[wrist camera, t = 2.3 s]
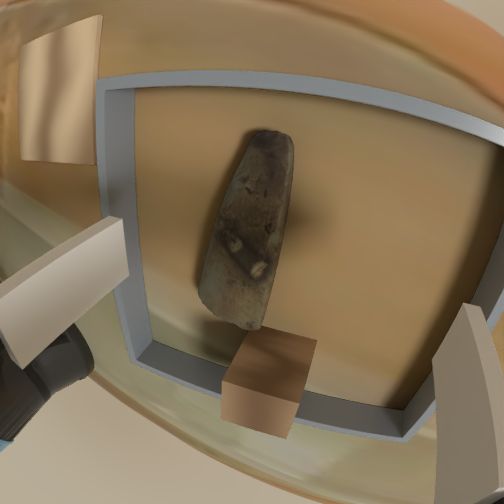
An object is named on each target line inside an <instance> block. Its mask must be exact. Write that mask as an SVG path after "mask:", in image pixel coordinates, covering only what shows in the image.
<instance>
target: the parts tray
mask: <svg viewBox="0 0 504 504" xmlns="http://www.w3.org/2000/svg"><path fill="white" fill-rule="evenodd" d="M178 86H207V87H236V88H252V89H265V90H275V91H285V92H294V93H302V94H309V95H316V96H323V97H329V98H335V99H341V100H346V101H351V102H357V103H361V104H366V105H371V106H375V107H380V108H384V109H388V110H393V111H397V112H400V113H404V114H408V115H412V116H415V117H419V118H422V119H426V120H429V121H433V122H436V123H439V124H442V125H445V126H448V127H451V128H454V129H457V130H460V131H463V132H466V133H469V134H471V135H474V136H477V137H479V138H482V139H485V140H487V141H490V142H492V143H495V144H497V145H499V146H502V147H504V129H503V128H500V127H498V126H496V125H493V124H491V123H489V122H486V121H484V120H481V119H479V118H476V117H473V116H471V115H468V114H465V113H462V112H460V111H457V110H454V109H451V108H448V107H445V106H442V105H439V104H436V103H432V102H429V101H426V100H422V99H419V98H415V97H411V96H408V95H404V94H400V93H396V92H392V91H388V90H384V89H379V88H375V87H370V86H365V85H360V84H355V83H349V82H344V81H338V80H332V79H325V78H318V77H311V76H302V75H293V74H283V73H272V72H257V71H234V70H190V71H167V72H153V73H141V74H131V75H122V76H115V77H107V78H100V79H96V150H97V168H98V182H99V193H100V204H101V213H102V220H103V219H104V218H106V217H108V216H113V217H117V218H121V219H122V220H123V230H124V239H125V247H126V255H127V262H128V269H129V276H128V277H127V278H126V279H125V280H123V281H122V282H121V283H120V284H118V285H117V286H116V287H115V288H114V289H113V290H114V295H115V300H116V304H117V309H118V314H119V318H120V322H121V326H122V331H123V335H124V339H125V343H126V346H127V350H128V354H129V358H130V361H131V363H133V364H135V365H137V366H139V367H142V368H144V369H146V370H148V371H150V372H153V373H155V374H157V375H159V376H162V377H164V378H166V379H169V380H171V381H174V382H176V383H178V384H181V385H183V386H186V387H188V388H191V389H193V390H196V391H199V392H201V393H204V394H207V395H209V396H212V397H215V398H218V399H220V400H221V396H222V379H223V377H224V375H225V374H226V372H227V370H228V368H226V367H223V366H220V365H217V364H214V363H211V362H208V361H206V360H203V359H200V358H197V357H194V356H192V355H189V354H186V353H184V352H181V351H178V350H176V349H173V348H171V347H168V346H166V345H163V344H161V343H158V342H156V341H153V338H152V333H151V327H150V321H149V314H148V308H147V301H146V294H145V286H144V278H143V270H142V261H141V252H140V242H139V230H138V218H137V203H136V184H135V153H134V112H135V88H149V87H178ZM470 304H471V305H475V306H479V307H481V310H482V312H483V315H484V317H485V320H486V323H487V325H488V328H489V331H490V333H491V332H492V330H493V328H494V327H495V325H496V323H497V321H498V320H499V318H500V316H501V314H502V312H503V310H504V222H503V225H502V228H501V231H500V234H499V236H498V239H497V242H496V244H495V247H494V250H493V252H492V255H491V257H490V260H489V262H488V265H487V267H486V269H485V272H484V274H483V276H482V279H481V281H480V283H479V285H478V287H477V290H476V292H475V294H474V296H473V298H472V300H471V302H470ZM435 411H436V402H435V387H434V376H433V369H432V371H431V372H430V374H429V375H428V377H427V378H426V380H425V381H424V383H423V384H422V385H421V387H420V388H419V390H418V391H417V393H416V394H415V395H414V397H413V398H412V400H411V401H410V402H409V404H408V405H407V406H406V408H405V409H404V410H403V411H402V410H395V409H389V408H383V407H378V406H372V405H367V404H362V403H357V402H352V401H347V400H342V399H338V398H333V397H329V396H325V395H320V394H316V393H312V392H308V391H303V394H302V397H301V401H300V404H299V407H298V409H297V412H296V415H295V417H294V420H293V422H296V423H300V424H304V425H308V426H312V427H316V428H321V429H325V430H330V431H334V432H339V433H344V434H349V435H355V436H360V437H366V438H372V439H379V440H385V441H393V442H401V443H407V442H408V441H409V440H410V439H411V438H412V437H413V436H414V435H415V434H416V432H417V431H418V430H419V429H420V428H421V427H422V426H423V425H424V424H425V422H426V421H427V420H428V419H429V418H430V417H431V416H432V414H433V413H434V412H435Z"/></svg>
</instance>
